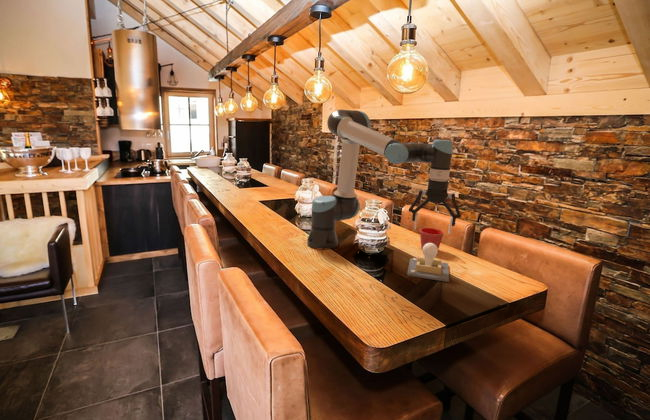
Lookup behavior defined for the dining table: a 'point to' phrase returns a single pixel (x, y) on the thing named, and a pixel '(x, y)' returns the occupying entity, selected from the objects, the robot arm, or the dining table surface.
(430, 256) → the lightbulb
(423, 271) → the board
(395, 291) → the dining table surface
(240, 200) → the dining table surface
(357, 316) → the dining table surface
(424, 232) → the flower pot
